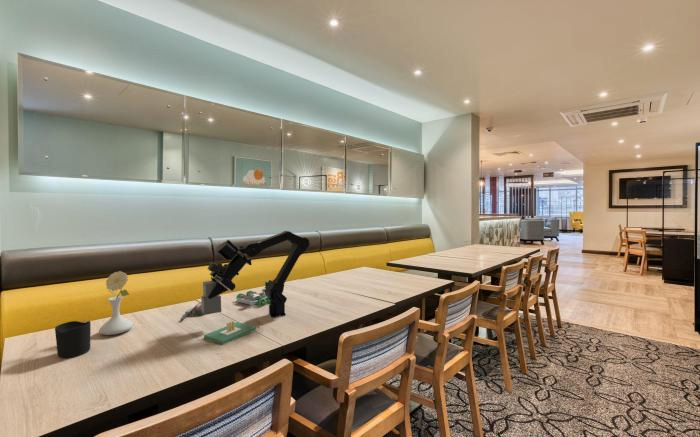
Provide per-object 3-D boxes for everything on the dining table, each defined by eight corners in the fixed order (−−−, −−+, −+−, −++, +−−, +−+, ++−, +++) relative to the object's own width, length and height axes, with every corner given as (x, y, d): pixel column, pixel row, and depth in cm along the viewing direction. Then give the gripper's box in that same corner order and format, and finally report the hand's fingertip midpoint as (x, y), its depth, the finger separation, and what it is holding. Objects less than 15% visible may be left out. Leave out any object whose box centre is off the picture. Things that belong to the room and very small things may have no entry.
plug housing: (218, 309, 140) (217, 279, 139) (221, 311, 136) (220, 281, 136) (201, 312, 136) (200, 282, 135) (204, 315, 132) (203, 284, 132)
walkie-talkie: (194, 308, 164) (178, 322, 144) (193, 299, 163) (178, 313, 144) (212, 307, 165) (200, 322, 145) (212, 298, 165) (199, 312, 145)
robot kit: (291, 297, 182) (290, 280, 182) (255, 309, 161) (255, 290, 161) (267, 292, 192) (266, 276, 192) (231, 303, 171) (230, 285, 171)
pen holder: (87, 344, 121) (86, 317, 121) (95, 352, 115) (93, 323, 115) (53, 353, 114) (52, 325, 113) (59, 362, 108) (58, 332, 107)
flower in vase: (92, 335, 130) (89, 272, 129) (121, 325, 140) (119, 266, 139) (114, 340, 125) (111, 274, 124) (142, 329, 136) (140, 269, 134)
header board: (237, 324, 140) (237, 313, 140) (255, 329, 135) (255, 318, 135) (204, 338, 127) (203, 326, 126) (223, 344, 121) (222, 331, 121)
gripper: (214, 252, 145) (187, 280, 139) (226, 258, 130) (196, 290, 124) (232, 267, 150) (207, 295, 144) (246, 275, 135) (219, 307, 129)
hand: (207, 296), depth 135 cm, fingers closed on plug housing, 4 cm apart
